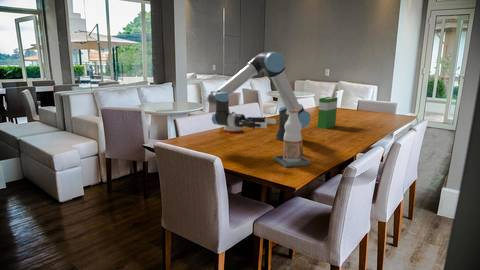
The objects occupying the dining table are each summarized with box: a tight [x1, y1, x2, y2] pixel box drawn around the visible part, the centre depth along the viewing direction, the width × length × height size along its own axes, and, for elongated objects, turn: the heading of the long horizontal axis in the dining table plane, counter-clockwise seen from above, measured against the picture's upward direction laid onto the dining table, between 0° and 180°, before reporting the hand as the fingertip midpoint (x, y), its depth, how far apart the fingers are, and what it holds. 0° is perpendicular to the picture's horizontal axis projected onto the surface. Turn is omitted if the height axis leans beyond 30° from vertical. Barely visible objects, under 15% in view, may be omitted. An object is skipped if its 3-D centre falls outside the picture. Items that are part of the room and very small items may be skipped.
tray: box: [273, 154, 311, 169], centre depth 178 cm, size 15×15×2 cm
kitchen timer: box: [223, 111, 243, 134], centre depth 252 cm, size 14×14×15 cm
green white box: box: [317, 96, 338, 130], centre depth 270 cm, size 18×7×24 cm, turn 139°
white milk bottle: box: [282, 109, 302, 163], centre depth 175 cm, size 9×9×28 cm
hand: (271, 123), depth 180 cm, fingers open, 13 cm apart
